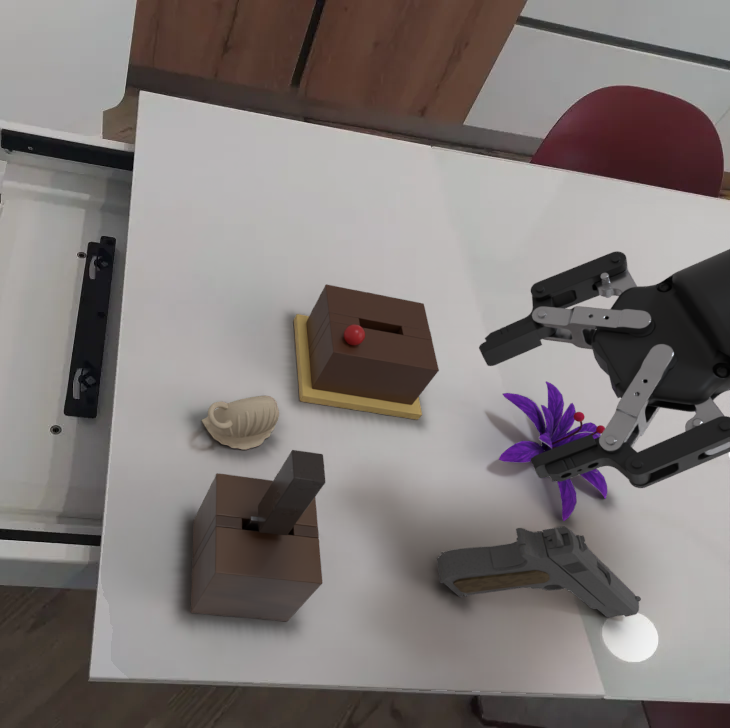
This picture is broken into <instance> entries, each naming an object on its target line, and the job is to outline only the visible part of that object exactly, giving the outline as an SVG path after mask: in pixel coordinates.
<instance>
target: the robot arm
mask: <svg viewBox="0 0 730 728" xmlns="http://www.w3.org/2000/svg"><path fill="white" fill-rule="evenodd" d="M530 294H531V301H532V302H531V303H532V309H531V312H530V313H529V314H528V315H527V316H525V317H523V318H520V319H518V320H516V321H514V322H512V323H510V324H508V325H506V326H503V327H501V328H499V329H496V330H494V331H492V332H489V334H488V335H487V336H486V337H484V340H485V341H484V342H482V343H480V345H479V347H478V349H479V351H480V353H481V356H482V358H483V360H484V362H485V364H486V366H488V367H494V366H497V365H499V364H501V363H504V362H506V361H508V360H511V359H513V358H516V357H518V356H520V355H523V354H525V353H527V352H530V351H531V350H534V349H537V348H539V347H541V346H543V342H542V340H543V341H549V342H550V341H551V342H557V343H567V344H572V345H573V346H575V347H576V348H580V349H585V350H591V351H592V353H593V357H594V359H595V361H596V363H597V365H598V366H599V368H600V369H601V370H602V371H603V372H604V373H605V374H606V375H607V376H608V377H609V381H610V385H611V389H612V391H613V392H614V395H615V396H616V397H617V399H620V400H619V401H618V403H617V405H616V408H615V411H614V414H613V416H612V417H611V418H610V420H609V422H608V423H607V425H606V426H605V430H604V431H603V433H602V434H601V436H600V437H598V438H595V439H594V438H593V436H592V434H590V435H587V436H585V437H582V438H579V439H577V440H574V441H572V442H569V443H566V444H564V445H561V446H559V447H556V448H553V449H551V450H548V451H546V452H543V453H540V454H538V455H536V456H534V457H532V458H531V462H530V464H531V465H532V467H533V469H534V471H535V474H536V475H537V477H538V478H539V479H546V478H550V480H551V482H557V481H564V480H567V479H570V480H571V479H572V478H575V477H577V476H580V475H581V474H583V473H586V472H589V471H591V470H594V469H600V468H602V467H611V468H614V469H616V470H617V471H618V472H619V473H620V474H622V475H623V476H624V477H625V478H626V479H627V480H628V483H630V485H631V486H632V487H634V488H637V489H645V488H647V487H650V486H652V485H655V484H657V483H659V482H662V481H664V480H666V479H669V478H672V477H674V476H676V475H678V474H681V473H684V472H686V471H688V470H690V469H692V468H695V467H698V466H700V465H702V464H705V463H707V462H709V461H712V460H714V459H717V458H718V457H721V456H723V455H726V454H728V453H730V416H727V415H724V413H723V412H722V410H721V409H720V408H719V406H718V405H717V404H716V402H715V401H714V400H715V399H716V398H718V396H720V395H722V394H724V393H726V392H730V248H729V249H727V250H724V251H722V252H719V253H717V254H715V255H712V256H710V257H708V258H706V259H703V260H701V261H699V262H696V263H694V264H692V265H690V266H687V267H685V268H683V269H679V270H678V271H676V272H674V273H672V274H671V275H669V276H668V277H666V278H665V279H664V280H662V281H660V282H659V283H656V284H652V285H643V286H641V285H640V286H638V285H637V284H636V282H635V280H634V278H633V276H632V274H631V273H630V271H629V267H628V259H627V256H626V254H625V253H624V252H622V251H618V250H617V251H612V252H610V253H607V254H605V255H602V256H600V257H597V258H595V259H592V260H590V261H587V262H584V263H582V264H580V265H577V266H575V267H572V268H569V269H567V270H565V271H562V272H559V273H556V274H554V275H552V276H550V277H546V278H544V279H541V280H540V281H537V282H535V283H533V284H532V286H531V287H530ZM599 296H600V297H603V298H607V299H608V298H609V299H610V298H611V297H617V298H616V300H615V301H614V303H613V304H612V306H611V307H610V308H603V307H602V308H600V307H591V306H582V305H578V304H580V303H583V302H586V301H588V300H589V301H590V300H591V299H594V298H596V297H599ZM575 305H576V306H575ZM571 307H572V308H571ZM660 409H666V410H674V411H681V412H687V413H694V412H695V414H694V416H692V417H691V418H689V419H688V420H687V421H686V423H685V426H684V429H685V431H683V432H681V433H679V434H676V435H674V436H672V437H670V438H667V439H665V440H662V441H660V442H658V443H655V444H653V445H651V446H649V447H647V448H644V449H642V450H639V451H637V450H635V448H633V447H634V446H635V445H636V443H637V442H638V440H639V438H640V437H642V436H643V435H644V434H645V432H646V431H647V430H648V428H649V426H650V425H651V423H652V422H653V420H654V419H655V416H656V415H657V414H658V412H659V410H660Z"/></svg>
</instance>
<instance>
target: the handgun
mask: <svg viewBox="0 0 730 728" xmlns="http://www.w3.org/2000/svg"><path fill="white" fill-rule="evenodd" d="M515 532H516V541H514V542H512V543H505V544H497V545H490V546H475V547H474V546H473V547H464V548H455V549H449V550H446V551H440V555H438V557H436V564H437V571H438V577H439V578H438V579H439V583H440V584H444V585H445V586H446V587H448V589H450V590H451V591H452V592H453V593H454V594H456V596H458V597H459V598H463V597H469V596H474V595H480V594H489V593H495V592H504V591H509V590H510V591H511V590H517V589H532V590H537V589H540V590H544V591H551V592H554V591H559V590H564V589H565V590H566V591H569V592H570V593H572V594H573V595H574V596H575V597H577V599H579V600H580V601H582V602H583V604H585V605H587V606H588V607H589V608H590V609H592V610H598V611H599V612H600V613H601V614H603V615H604V616H605V617H606V618H615V617H620V616H623V617H625V618H626V617H631V616H635V615H637V614H638V613H639V610H640V603H639V602H641V601H642V598H641V597H640V596H639V595H636V594H635V593H634V592H633V591H632V590H631V588H629V587H628V585H626V584H625V583H624V582H623V581H622V580H621V579H620V578H619V577H618V576H617V575H616V574H615V573H614V572H613V571H612V570H611V569H610V568H609V567H608V566H607V565H606V564H605V563H604V562H603V561H602V560H601V559H600V558H599V557H598V556H597V555H596V554H595V553H594V552H593V551H592V550H591V549H590V548H589V547H588V545H587V543H585V542H586V537H585V536H584V535H579V534H576V533H574V531H573V530H571V529H570V528H568V527H566V526H565V525H563V526H557V527H551V528H547V529H542V530H538V531H531V530H528V529H526V528H523V527H517V528H516V529H515Z"/></svg>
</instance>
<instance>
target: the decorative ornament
mask: <svg viewBox="0 0 730 728" xmlns="http://www.w3.org/2000/svg"><path fill="white" fill-rule="evenodd" d="M207 409H208V410H207V416H206V417H205V418H203V419H201V422H202V424H203V425H204V427H205V429H206V431H207V432H208V433H209V434H210V436H211V437H212V438H213V440H215V441H217V442H218V443H220V444H221V445H222V446H228V447H229V448H231V449H239V450H242V451H247V450H249V449H252V448H256V447H259V446H261V445H263V443H264V441H265V440H266V439H267V438H270V437H271V434H272V432H273V431H274V430H275V428H276V425H277V423H278V421H279V417H280V410H279V406H278V402H277V401H276V399H275V398H274V397H273V396H270V395H259V396H251V397H245V398H240V399H237V400H233V401H230V402H224V401H216V402H213V403H212V404H210V406H209V407H208V408H207Z"/></svg>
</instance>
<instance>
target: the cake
mask: <svg viewBox="0 0 730 728" xmlns="http://www.w3.org/2000/svg"><path fill="white" fill-rule="evenodd" d="M293 327H294V341H295V353H296V367H297V380H298V394H299V395H298V396H299V401H300V402H303V403H310V404H316V405H322V406H329V407H335V408H341V409H347V410H352V411H353V410H354V411H359V412H365V413H366V412H367V413H373V414H379V415H384V416H392V417H398V418H405V419H411V420H417V421H418V420H420V418H421V417H422V416H423V412H422V407H421V406H422V405H421V401H420V395H421V394H422V393H423V392H424V391H425V389H426V388H427V387H428V385H429V384H430V383H431V381H432V380H433V379H434V378H435V377H436V375H437V374H438V373H439V371H440V369H439V365H438V359H437V356H436V352H435V347H434V342H433V337H432V333H431V329H430V324H429V321H428V316H427V311H426V307H425V304H424V303H423V302H418V301H413V300H408V299H403V298H398V297H393V296H387V295H382V294H378V293H373V292H367V291H363V290H362V291H361V290H357V289H352V288H347V287H343V286H342V287H341V286H337V285H332V284H328V283H327V284H325V285H324V286H323V289H322V291H321V293H320V294H319V297H318V298H317V300H316V302H315V305H314V306H313V308H312V310H311V312H310V313H309V315H304V314H299V313H297V314H296V315H295V316H294V318H293Z"/></svg>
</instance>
